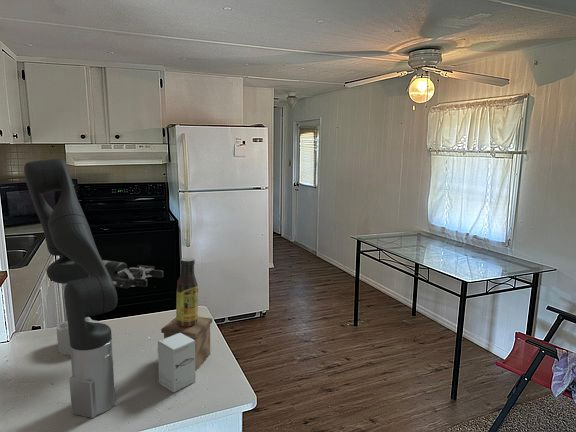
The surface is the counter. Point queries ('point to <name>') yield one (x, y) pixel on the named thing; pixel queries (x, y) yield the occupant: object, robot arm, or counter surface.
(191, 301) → the sauce bottle
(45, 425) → the counter surface
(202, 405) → the counter surface
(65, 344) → the lumpy-topped squat cylinder
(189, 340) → the supplement box
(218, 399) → the counter surface
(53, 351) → the counter surface
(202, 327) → the brown wooden box
